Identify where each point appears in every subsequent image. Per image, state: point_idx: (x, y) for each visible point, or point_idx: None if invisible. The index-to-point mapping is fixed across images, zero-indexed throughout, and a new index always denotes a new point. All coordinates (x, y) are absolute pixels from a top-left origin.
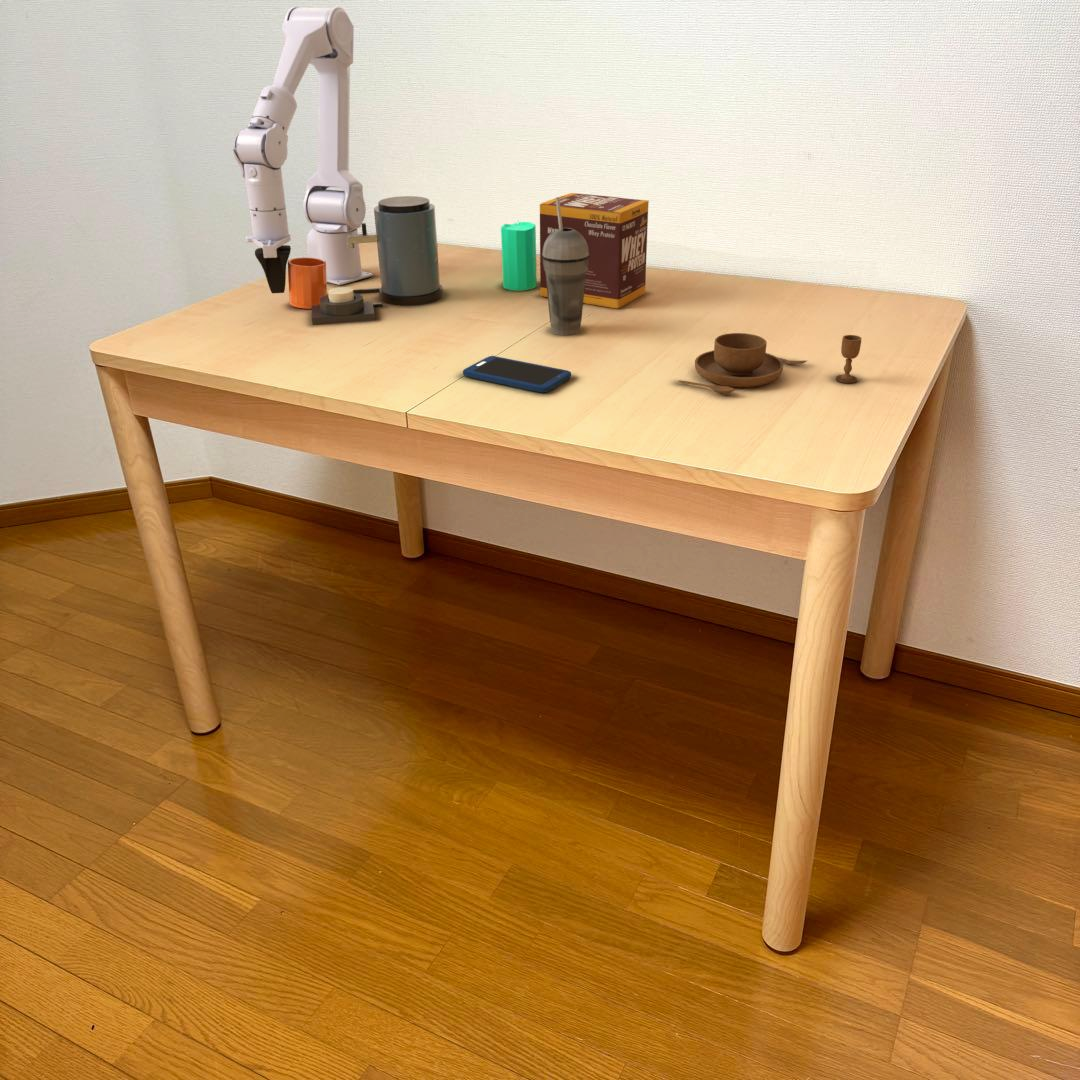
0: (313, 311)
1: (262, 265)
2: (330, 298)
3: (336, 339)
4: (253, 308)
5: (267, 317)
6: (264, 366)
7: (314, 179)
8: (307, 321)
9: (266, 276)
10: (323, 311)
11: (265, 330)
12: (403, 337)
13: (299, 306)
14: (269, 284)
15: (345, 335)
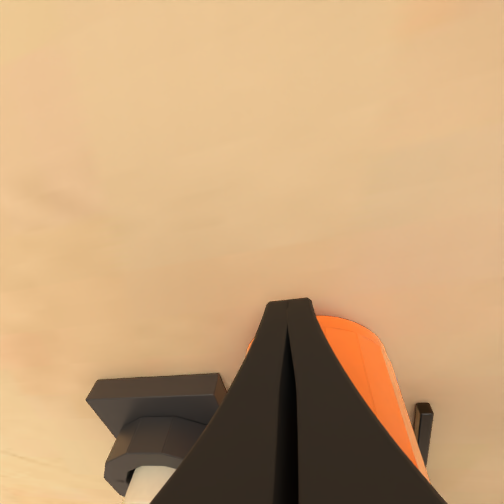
0: (149, 400)
1: (170, 483)
2: (135, 481)
3: (18, 419)
4: (288, 157)
5: (150, 250)
6: None
7: None
8: (131, 366)
9: (234, 381)
10: (130, 427)
11: (5, 271)
12: (75, 490)
13: (247, 351)
14: (257, 338)
15: (50, 431)
